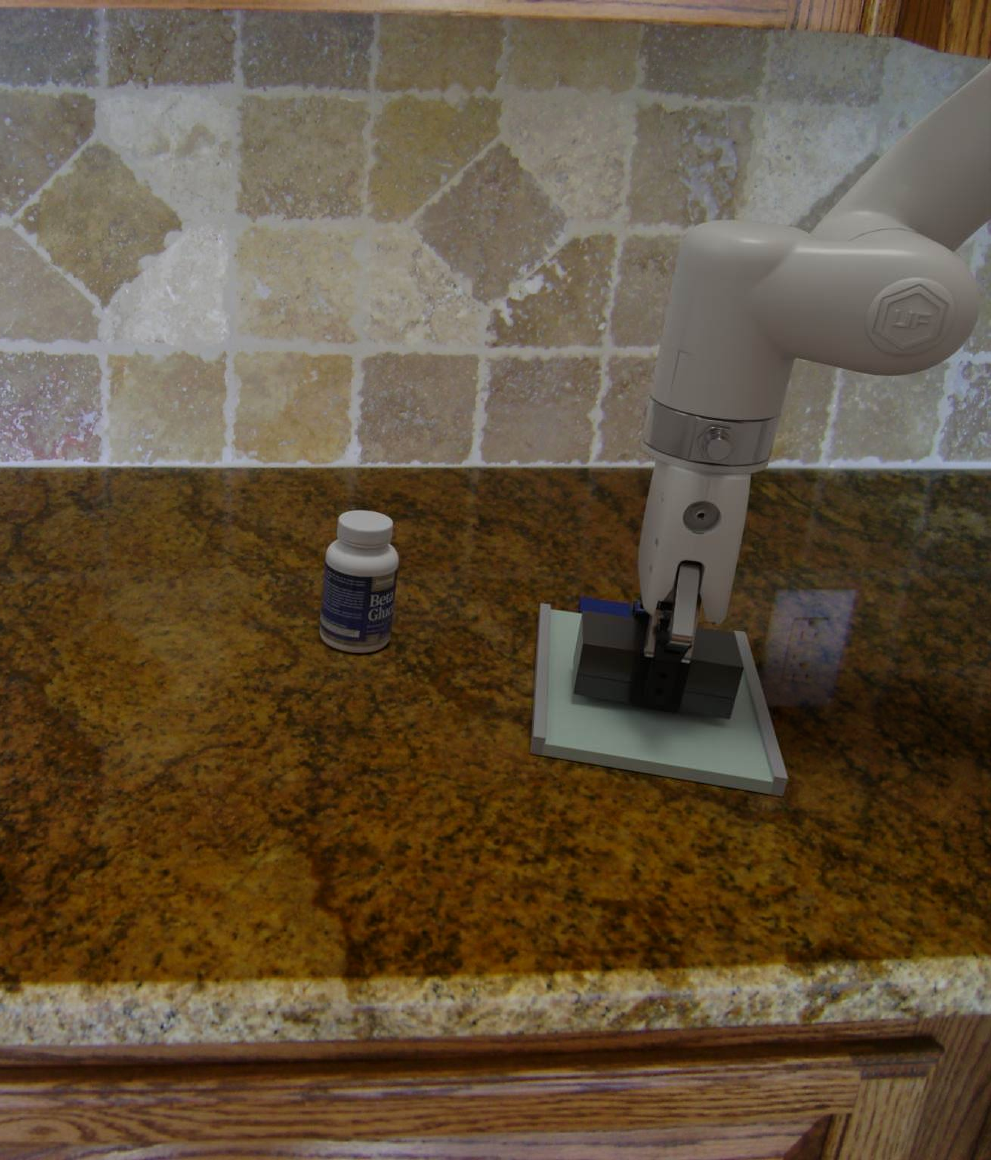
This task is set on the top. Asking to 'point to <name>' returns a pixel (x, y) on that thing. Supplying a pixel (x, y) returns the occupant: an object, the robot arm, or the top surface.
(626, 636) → the eraser
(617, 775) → the top surface
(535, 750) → the board
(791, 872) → the top surface
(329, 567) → the pill bottle
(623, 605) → the smudge
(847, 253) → the robot arm
